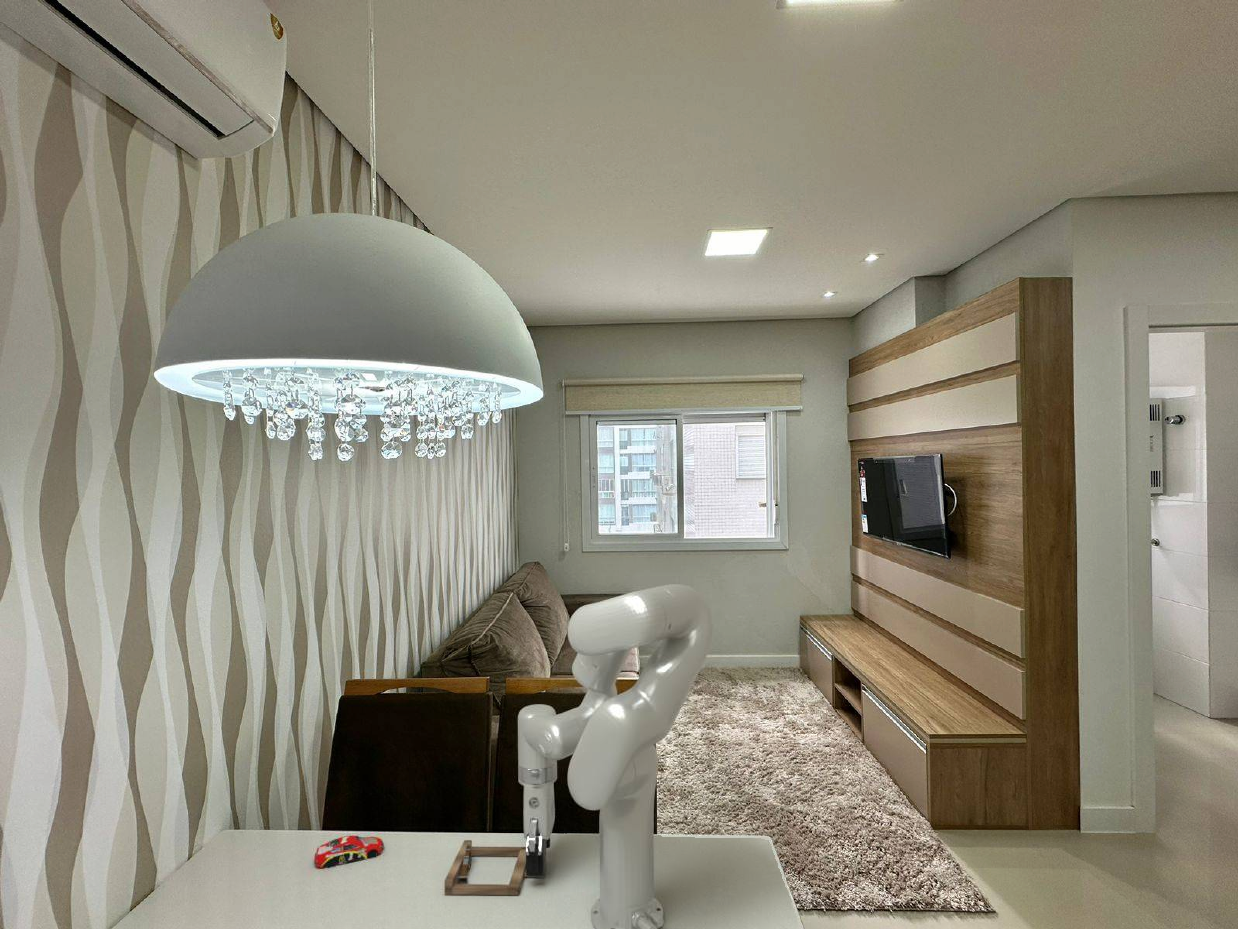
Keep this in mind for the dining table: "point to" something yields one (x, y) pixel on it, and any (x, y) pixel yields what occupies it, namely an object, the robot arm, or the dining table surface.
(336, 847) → the race car
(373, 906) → the dining table surface
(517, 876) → the brown hollow square frame
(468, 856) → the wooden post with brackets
